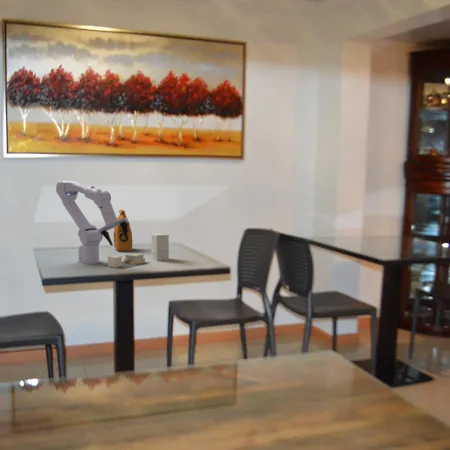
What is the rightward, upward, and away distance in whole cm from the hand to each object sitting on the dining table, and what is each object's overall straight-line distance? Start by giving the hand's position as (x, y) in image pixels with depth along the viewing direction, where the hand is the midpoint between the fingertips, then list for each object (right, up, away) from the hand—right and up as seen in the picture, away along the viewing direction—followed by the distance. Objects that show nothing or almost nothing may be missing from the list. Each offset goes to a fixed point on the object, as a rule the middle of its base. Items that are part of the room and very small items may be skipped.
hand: (119, 241), depth 268 cm
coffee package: (-8, -6, +53) cm, 54 cm away
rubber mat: (+2, -11, +7) cm, 14 cm away
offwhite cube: (-3, -11, +2) cm, 12 cm away
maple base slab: (+5, -10, +11) cm, 16 cm away
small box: (+16, -10, +22) cm, 29 cm away
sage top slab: (+5, -8, +11) cm, 15 cm away
